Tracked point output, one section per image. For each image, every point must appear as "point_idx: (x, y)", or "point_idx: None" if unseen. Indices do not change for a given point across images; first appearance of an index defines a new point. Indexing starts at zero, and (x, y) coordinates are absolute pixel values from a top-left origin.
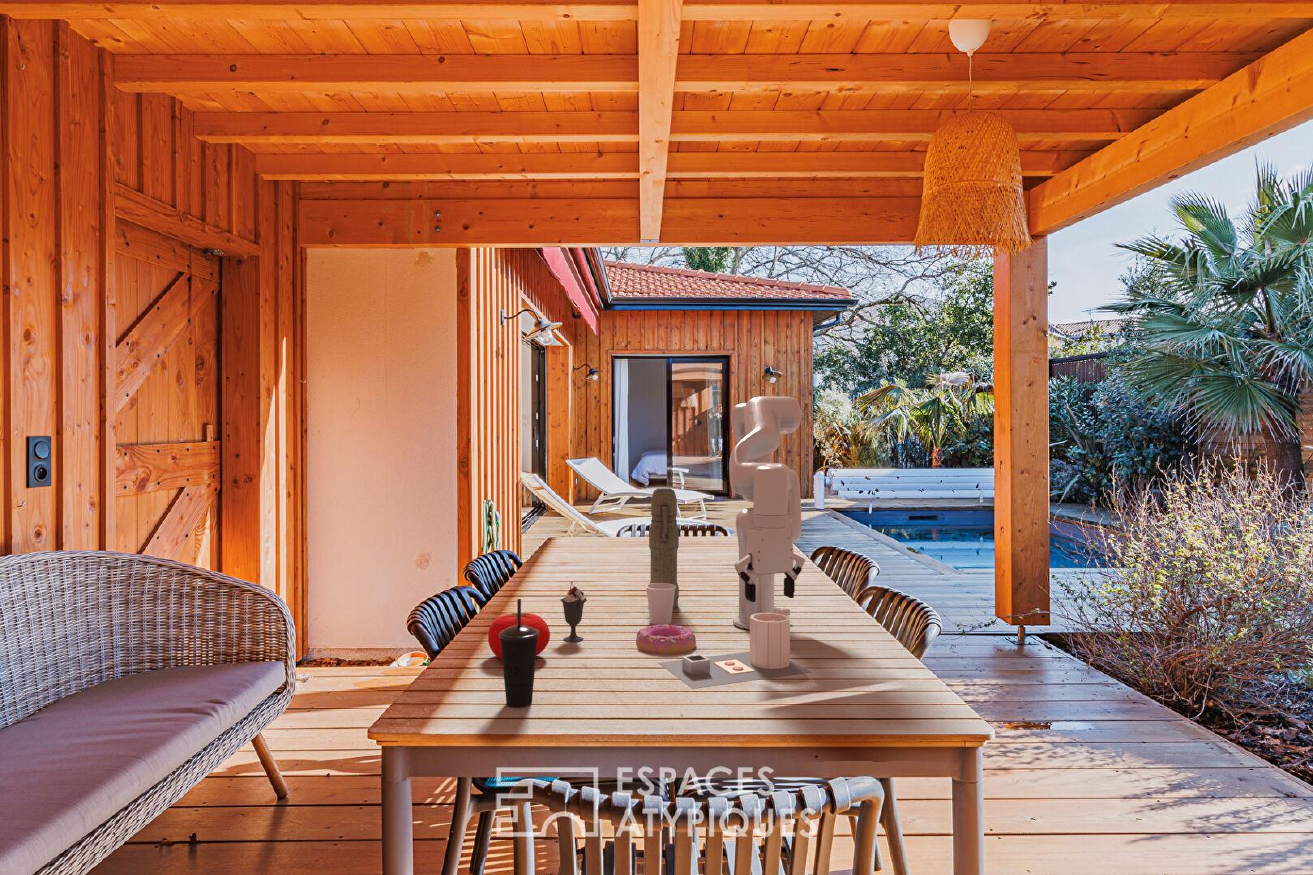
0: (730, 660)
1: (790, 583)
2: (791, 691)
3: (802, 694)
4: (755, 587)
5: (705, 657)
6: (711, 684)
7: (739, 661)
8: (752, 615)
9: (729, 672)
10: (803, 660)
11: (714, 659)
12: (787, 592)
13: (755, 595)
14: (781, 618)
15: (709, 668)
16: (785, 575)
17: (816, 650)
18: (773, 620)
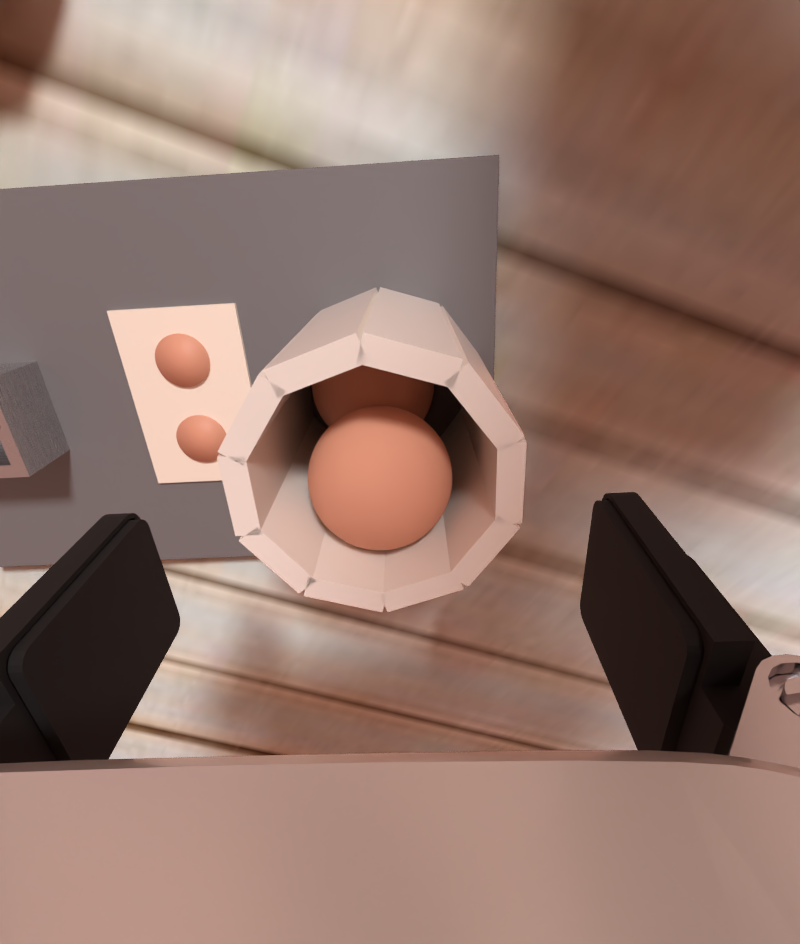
0: (201, 309)
1: (637, 743)
2: (342, 617)
3: (363, 644)
4: (107, 753)
5: (9, 437)
6: (61, 551)
7: (247, 326)
8: (262, 393)
9: (154, 468)
10: (600, 326)
11: (125, 247)
12: (600, 590)
13: (152, 674)
14: (492, 444)
15: (52, 459)
16: (749, 691)
17: (796, 176)
18: (385, 514)
